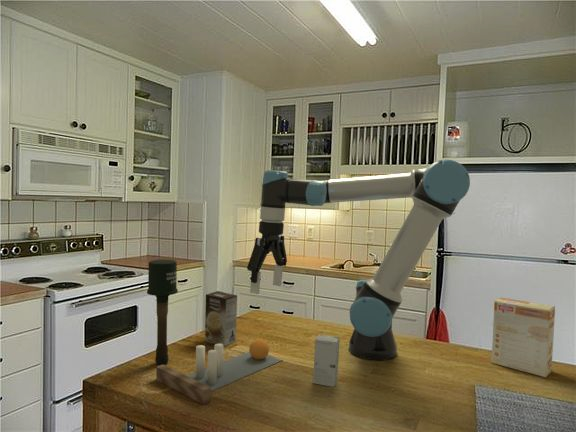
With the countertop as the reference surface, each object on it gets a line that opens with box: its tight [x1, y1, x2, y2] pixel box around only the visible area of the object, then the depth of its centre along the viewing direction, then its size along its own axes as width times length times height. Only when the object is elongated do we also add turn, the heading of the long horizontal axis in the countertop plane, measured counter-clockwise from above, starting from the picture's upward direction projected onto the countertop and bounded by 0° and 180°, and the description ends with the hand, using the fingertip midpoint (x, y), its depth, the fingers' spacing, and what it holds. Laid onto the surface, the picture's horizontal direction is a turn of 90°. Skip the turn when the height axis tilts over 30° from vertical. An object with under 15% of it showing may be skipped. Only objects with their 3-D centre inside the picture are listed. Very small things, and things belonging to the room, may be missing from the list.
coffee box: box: [204, 290, 238, 348], centre depth 144 cm, size 9×6×16 cm
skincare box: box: [312, 334, 341, 388], centre depth 115 cm, size 6×4×12 cm
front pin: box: [213, 344, 224, 377], centre depth 118 cm, size 2×2×8 cm
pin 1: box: [195, 344, 206, 379], centre depth 116 cm, size 2×2×8 cm
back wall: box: [155, 365, 212, 406], centre depth 109 cm, size 20×2×4 cm, turn 50°
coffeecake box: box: [491, 297, 556, 378], centre depth 129 cm, size 15×7×20 cm, turn 47°
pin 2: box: [207, 349, 217, 385], centre depth 113 cm, size 2×2×8 cm
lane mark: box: [186, 351, 283, 392], centre depth 122 cm, size 12×29×1 cm, turn 140°
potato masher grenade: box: [146, 259, 179, 366], centre depth 124 cm, size 8×9×30 cm
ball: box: [248, 338, 270, 360], centre depth 130 cm, size 6×6×6 cm
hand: (266, 289), depth 133 cm, fingers open, 13 cm apart
